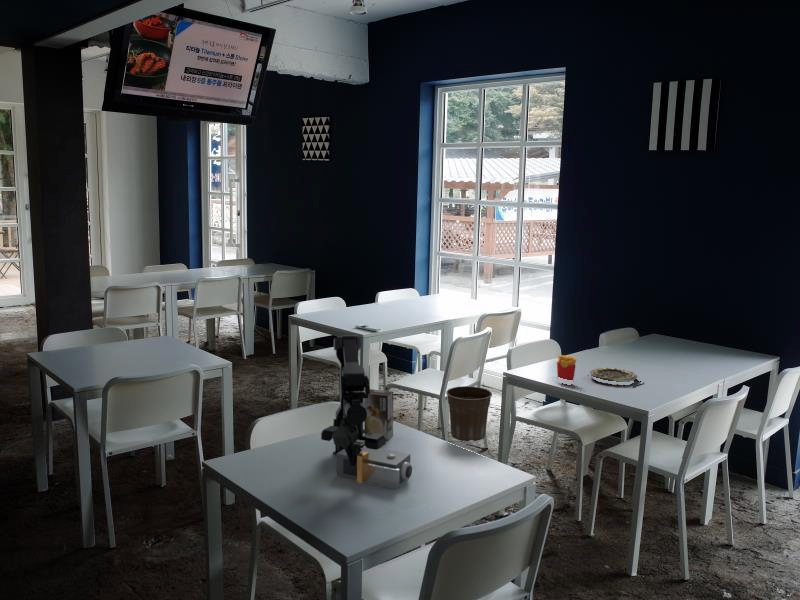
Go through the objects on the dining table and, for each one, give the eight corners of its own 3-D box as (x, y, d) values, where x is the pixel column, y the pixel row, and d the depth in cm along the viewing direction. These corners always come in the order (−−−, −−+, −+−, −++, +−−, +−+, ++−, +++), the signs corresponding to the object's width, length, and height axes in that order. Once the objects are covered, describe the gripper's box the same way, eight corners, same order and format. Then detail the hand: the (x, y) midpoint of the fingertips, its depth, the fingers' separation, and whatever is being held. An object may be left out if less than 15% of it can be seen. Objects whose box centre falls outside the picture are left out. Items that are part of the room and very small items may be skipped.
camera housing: (336, 475, 216) (336, 451, 215) (352, 464, 225) (352, 441, 224) (401, 489, 207) (402, 464, 205) (416, 477, 216) (416, 453, 215)
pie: (622, 392, 316) (622, 381, 315) (570, 381, 336) (570, 370, 335) (654, 382, 335) (654, 372, 334) (602, 372, 355) (603, 362, 354)
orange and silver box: (357, 487, 207) (357, 455, 205) (365, 481, 211) (365, 450, 210) (391, 494, 202) (391, 462, 201) (399, 488, 207) (399, 456, 205)
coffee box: (394, 434, 254) (394, 391, 251) (387, 440, 248) (388, 395, 245) (369, 431, 257) (370, 388, 254) (363, 437, 251) (363, 393, 248)
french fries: (554, 382, 330) (556, 355, 328) (560, 380, 333) (561, 353, 331) (571, 386, 323) (573, 358, 321) (576, 384, 326) (578, 357, 324)
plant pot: (480, 447, 243) (481, 401, 241) (437, 438, 251) (438, 394, 248) (497, 433, 257) (499, 390, 255) (456, 426, 265) (457, 384, 262)
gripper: (310, 416, 203) (310, 469, 205) (368, 426, 195) (368, 481, 197) (331, 406, 213) (330, 456, 215) (387, 415, 205) (386, 467, 207)
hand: (352, 465), depth 208 cm, fingers closed
